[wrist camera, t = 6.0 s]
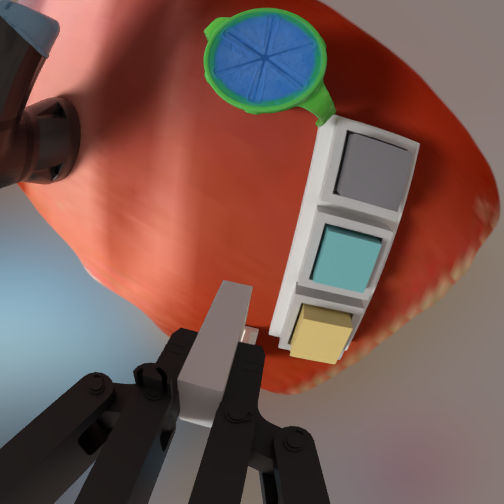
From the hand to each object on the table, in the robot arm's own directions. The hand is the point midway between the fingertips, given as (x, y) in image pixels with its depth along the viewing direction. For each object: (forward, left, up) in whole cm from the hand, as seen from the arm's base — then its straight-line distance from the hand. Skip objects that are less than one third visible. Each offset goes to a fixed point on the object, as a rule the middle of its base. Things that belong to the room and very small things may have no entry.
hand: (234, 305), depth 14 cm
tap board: (+9, -2, -21) cm, 23 cm away
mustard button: (+9, -12, -18) cm, 23 cm away
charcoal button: (+9, +8, -18) cm, 21 cm away
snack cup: (-3, +16, -22) cm, 27 cm away
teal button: (+9, -2, -19) cm, 21 cm away
